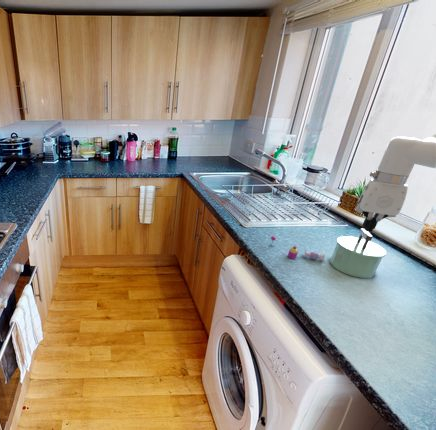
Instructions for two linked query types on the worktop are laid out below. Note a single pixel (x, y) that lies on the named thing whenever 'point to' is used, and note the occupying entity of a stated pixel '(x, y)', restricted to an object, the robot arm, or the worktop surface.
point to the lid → (361, 245)
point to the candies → (313, 255)
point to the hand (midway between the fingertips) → (367, 229)
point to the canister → (354, 263)
